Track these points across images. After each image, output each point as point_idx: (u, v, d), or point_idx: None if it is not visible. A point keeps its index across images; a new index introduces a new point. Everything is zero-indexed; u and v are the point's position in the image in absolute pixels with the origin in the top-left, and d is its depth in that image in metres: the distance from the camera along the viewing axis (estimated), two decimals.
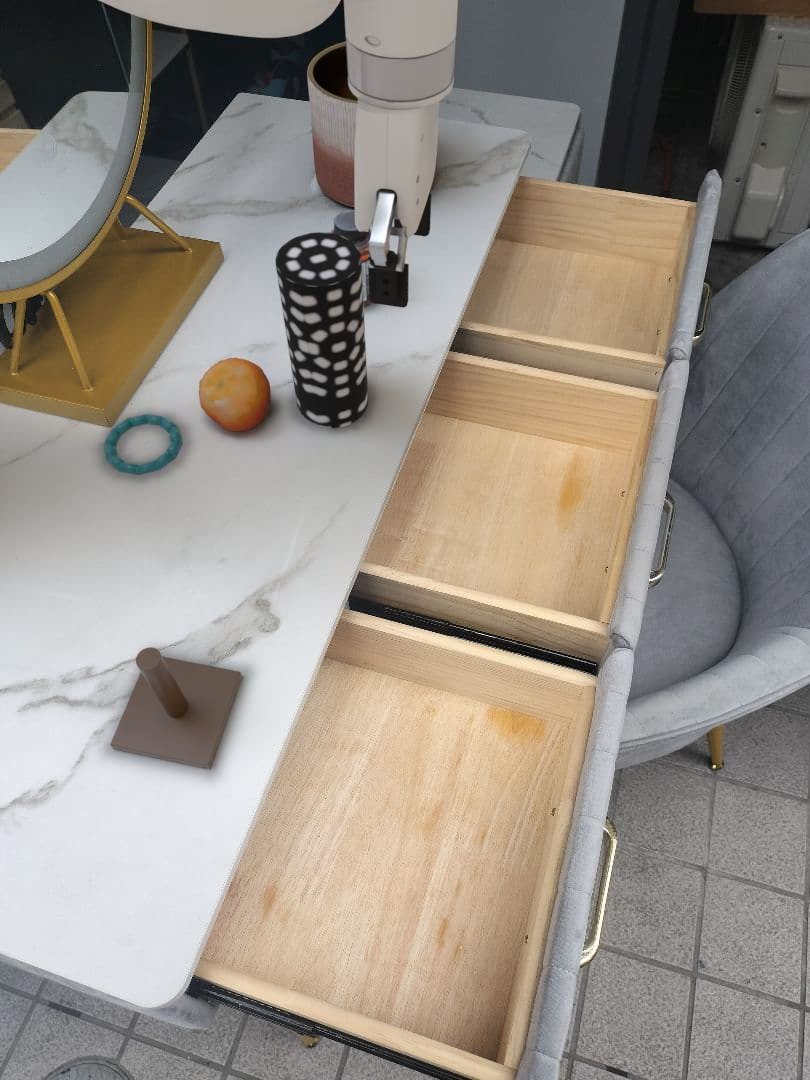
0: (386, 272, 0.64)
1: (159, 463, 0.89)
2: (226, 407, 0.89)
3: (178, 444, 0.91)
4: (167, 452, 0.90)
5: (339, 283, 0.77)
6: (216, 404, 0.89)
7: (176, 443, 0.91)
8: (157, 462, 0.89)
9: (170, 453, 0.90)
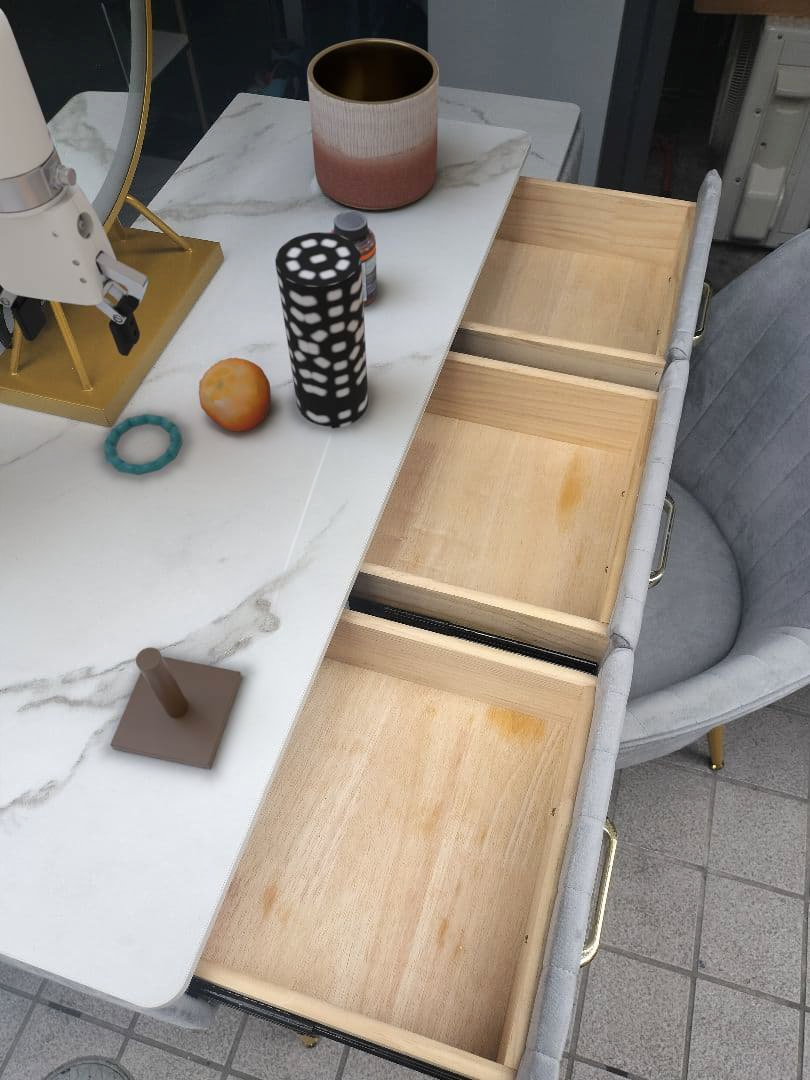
0: None
1: (159, 463, 0.89)
2: (226, 407, 0.89)
3: (178, 444, 0.91)
4: (167, 452, 0.90)
5: (339, 283, 0.77)
6: (216, 404, 0.89)
7: (176, 443, 0.91)
8: (157, 462, 0.89)
9: (170, 453, 0.90)
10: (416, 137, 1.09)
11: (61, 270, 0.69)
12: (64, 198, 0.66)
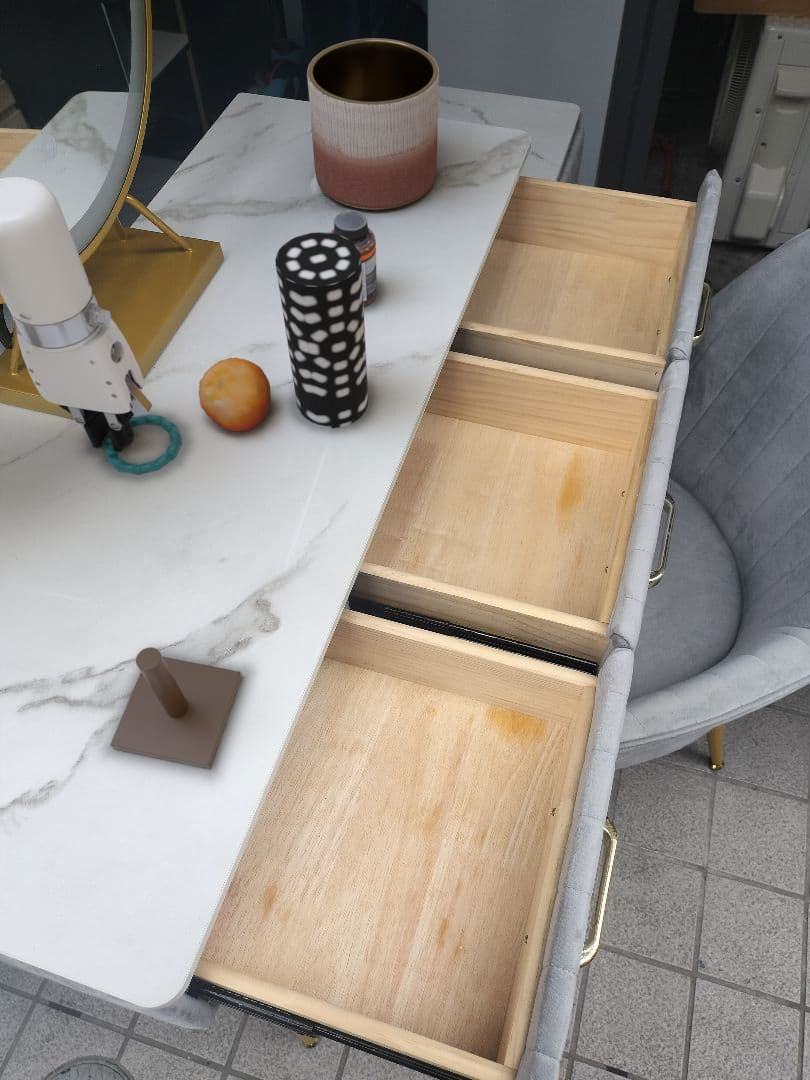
0: None
1: (159, 463, 0.89)
2: (226, 407, 0.89)
3: (178, 444, 0.91)
4: (167, 452, 0.90)
5: (339, 283, 0.77)
6: (216, 404, 0.89)
7: (176, 443, 0.91)
8: (157, 462, 0.89)
9: (170, 453, 0.90)
10: (415, 137, 1.09)
11: (96, 388, 0.81)
12: (100, 332, 0.77)
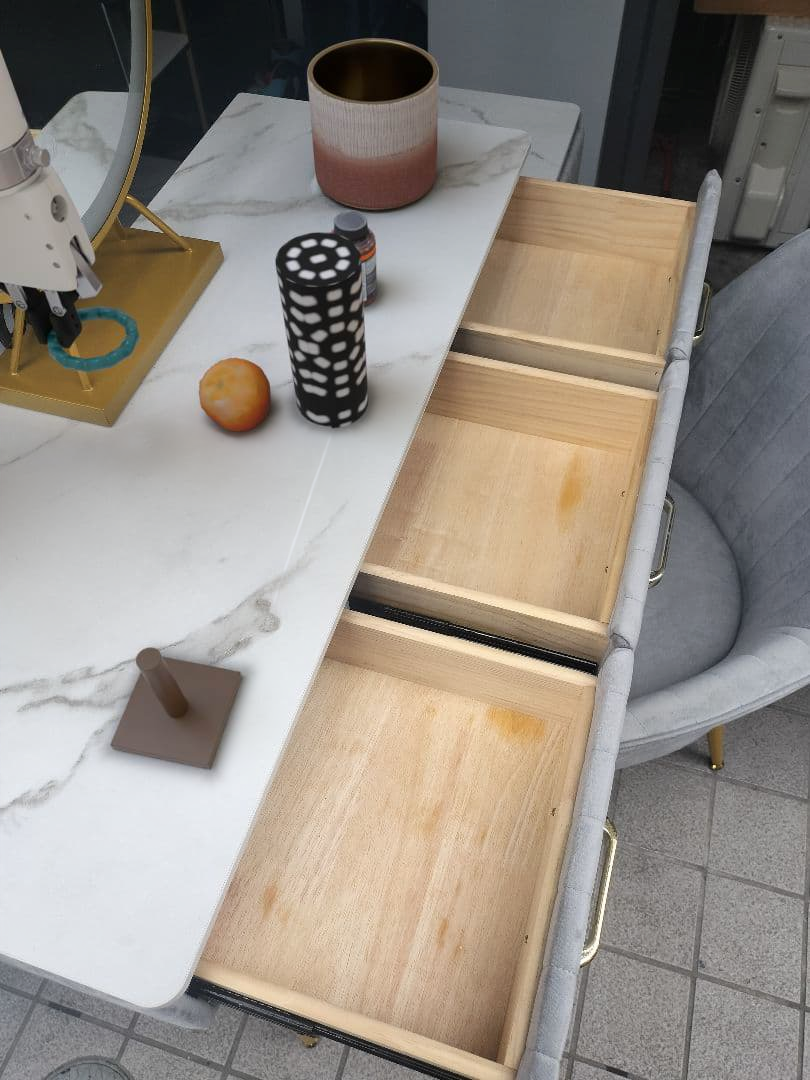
0: None
1: (111, 358, 0.76)
2: (226, 407, 0.89)
3: (135, 338, 0.78)
4: (121, 346, 0.77)
5: (339, 283, 0.77)
6: (216, 404, 0.89)
7: (133, 337, 0.78)
8: (109, 356, 0.76)
9: (125, 348, 0.77)
10: (415, 137, 1.09)
11: (34, 254, 0.68)
12: (37, 180, 0.64)
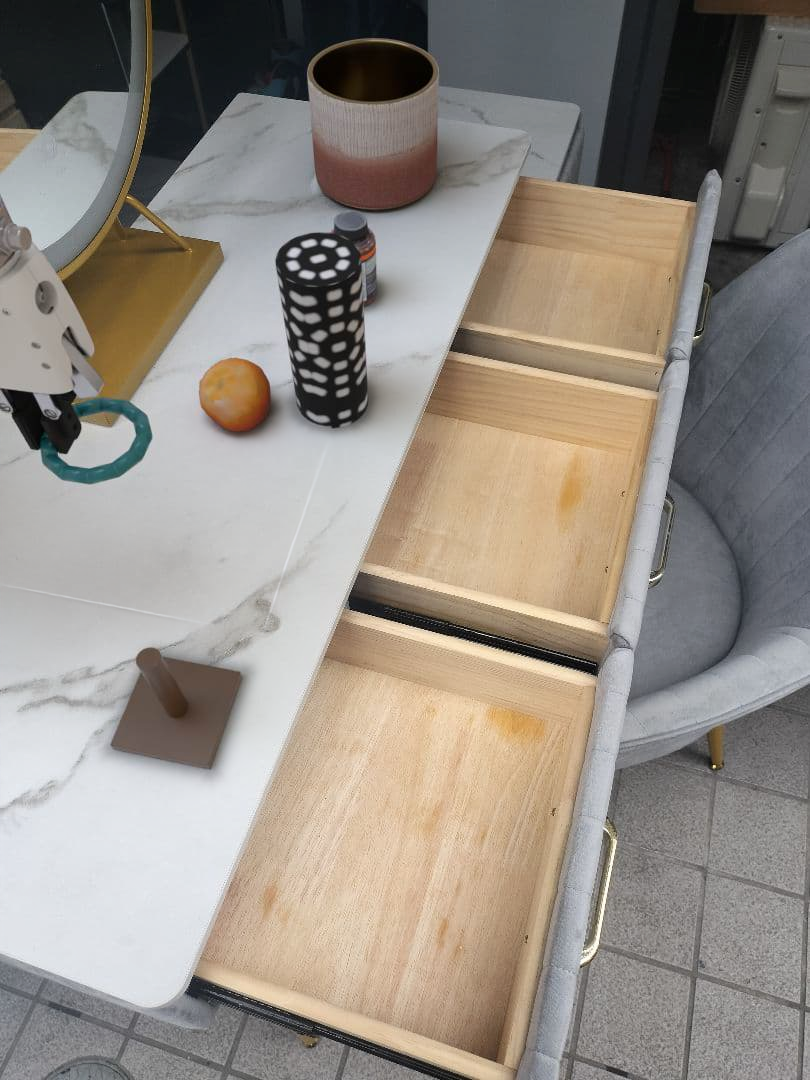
0: None
1: (119, 466, 0.62)
2: (226, 407, 0.89)
3: (147, 439, 0.63)
4: (130, 450, 0.62)
5: (339, 283, 0.77)
6: (216, 404, 0.89)
7: (144, 437, 0.63)
8: (116, 465, 0.62)
9: (135, 452, 0.62)
10: (415, 137, 1.09)
11: (17, 354, 0.53)
12: (17, 265, 0.50)
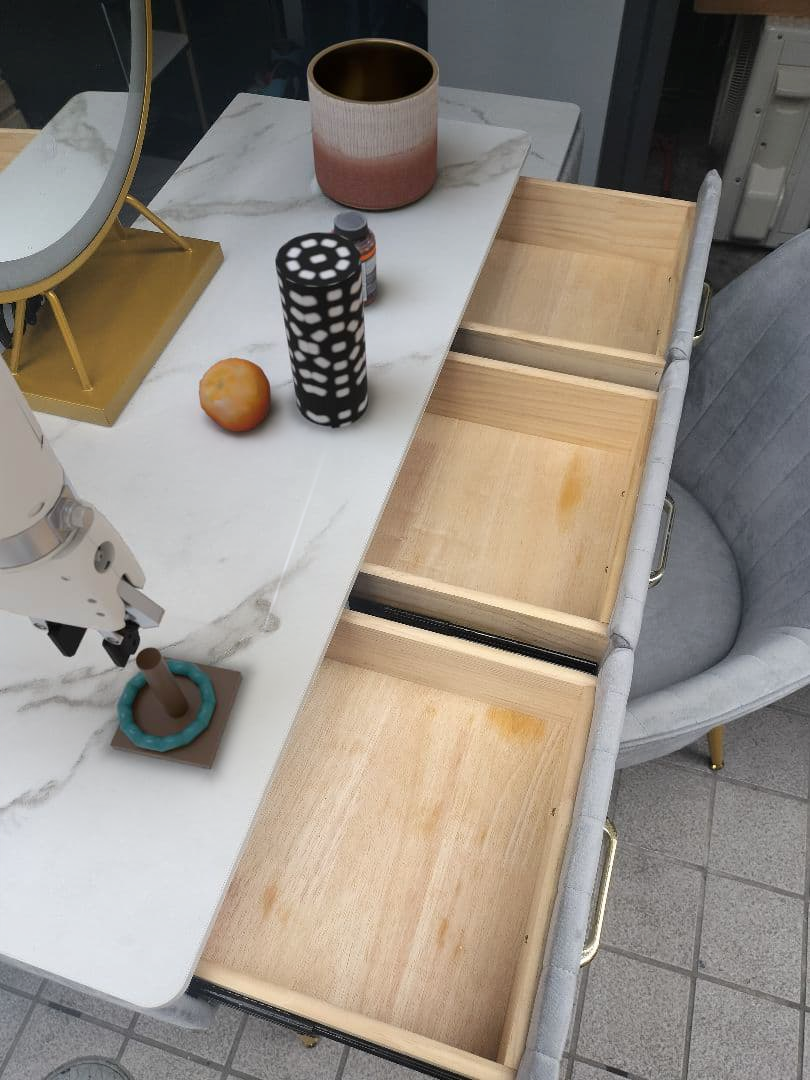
0: None
1: (188, 736, 0.70)
2: (226, 407, 0.89)
3: (211, 706, 0.72)
4: (198, 719, 0.71)
5: (339, 283, 0.77)
6: (216, 404, 0.89)
7: (209, 704, 0.72)
8: (186, 735, 0.70)
9: (202, 722, 0.71)
10: (415, 137, 1.09)
11: (72, 606, 0.54)
12: (77, 535, 0.50)
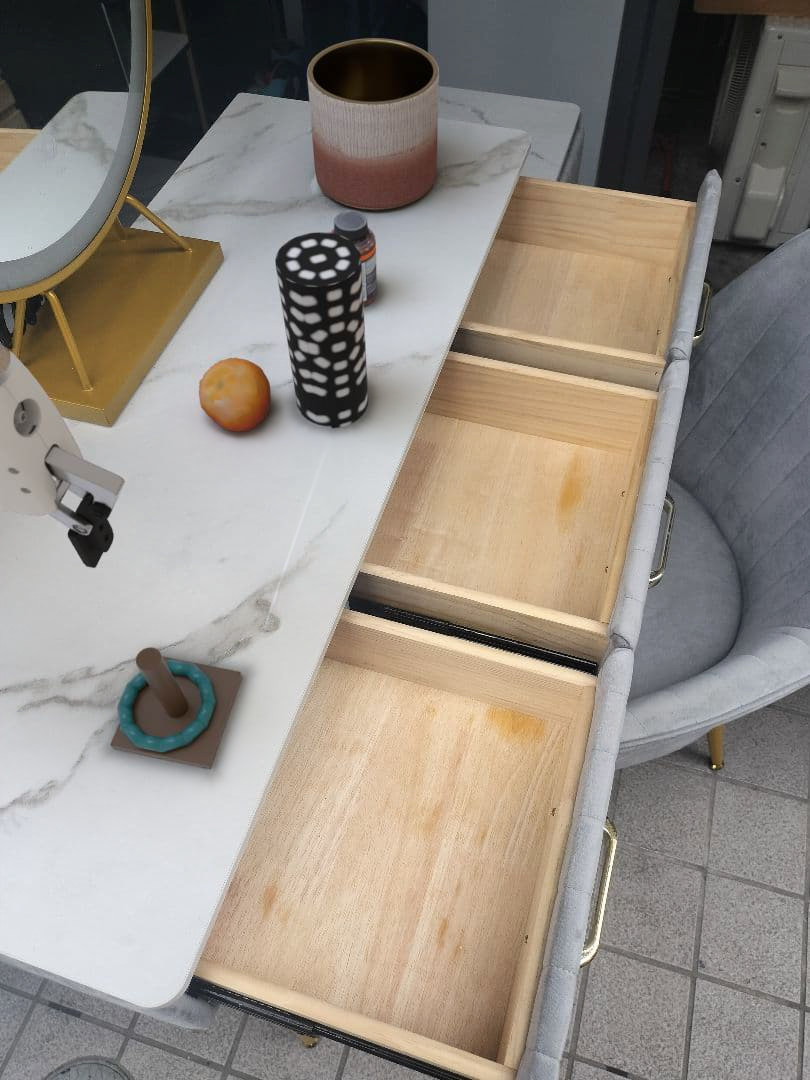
0: None
1: (188, 736, 0.70)
2: (226, 407, 0.89)
3: (211, 706, 0.72)
4: (198, 720, 0.71)
5: (339, 283, 0.77)
6: (216, 404, 0.89)
7: (209, 705, 0.72)
8: (186, 735, 0.70)
9: (202, 722, 0.71)
10: (415, 137, 1.09)
11: None
12: None
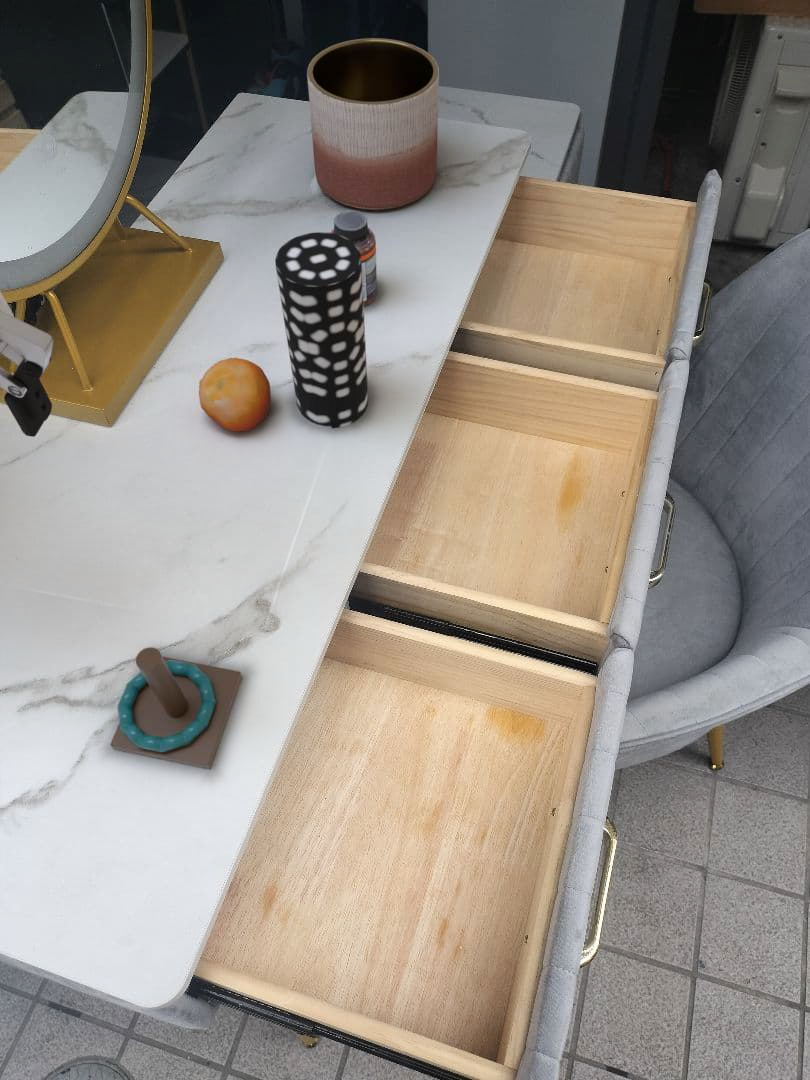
0: None
1: (188, 736, 0.70)
2: (226, 407, 0.89)
3: (211, 706, 0.72)
4: (198, 720, 0.71)
5: (339, 283, 0.77)
6: (216, 404, 0.89)
7: (209, 705, 0.72)
8: (186, 735, 0.70)
9: (202, 722, 0.71)
10: (415, 137, 1.09)
11: None
12: None
